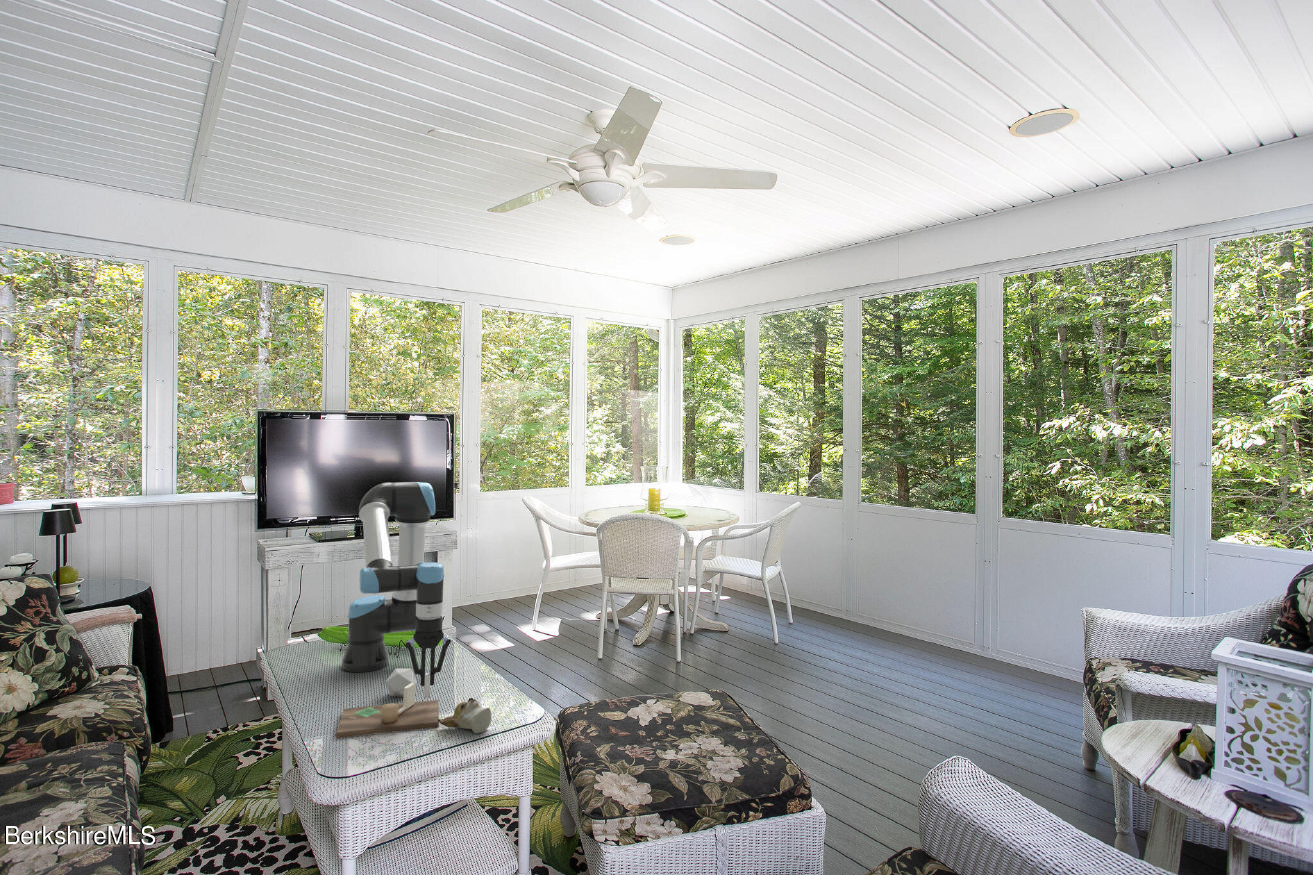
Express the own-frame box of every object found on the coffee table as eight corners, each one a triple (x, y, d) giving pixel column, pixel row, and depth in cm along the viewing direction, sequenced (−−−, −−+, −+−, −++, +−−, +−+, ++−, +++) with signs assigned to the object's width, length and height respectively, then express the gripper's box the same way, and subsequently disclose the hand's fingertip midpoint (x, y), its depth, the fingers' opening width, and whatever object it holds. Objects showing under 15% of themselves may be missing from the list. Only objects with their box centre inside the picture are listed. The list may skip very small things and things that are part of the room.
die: (397, 704, 200) (418, 676, 203) (375, 688, 202) (396, 660, 205) (406, 704, 208) (426, 676, 211) (385, 688, 210) (405, 661, 213)
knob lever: (406, 702, 196) (406, 682, 196) (419, 704, 195) (420, 683, 195) (377, 721, 182) (378, 700, 182) (392, 723, 181) (392, 701, 181)
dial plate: (343, 713, 191) (344, 708, 191) (438, 704, 200) (438, 699, 200) (336, 738, 176) (336, 732, 176) (438, 726, 184) (438, 721, 184)
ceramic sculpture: (474, 708, 176) (435, 699, 184) (475, 741, 176) (435, 731, 183) (502, 696, 186) (464, 688, 193) (502, 727, 185) (464, 718, 193)
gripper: (405, 621, 189) (402, 703, 189) (452, 618, 193) (450, 698, 193) (406, 614, 196) (403, 693, 196) (451, 611, 201) (449, 689, 200)
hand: (426, 696), depth 195 cm, fingers closed
